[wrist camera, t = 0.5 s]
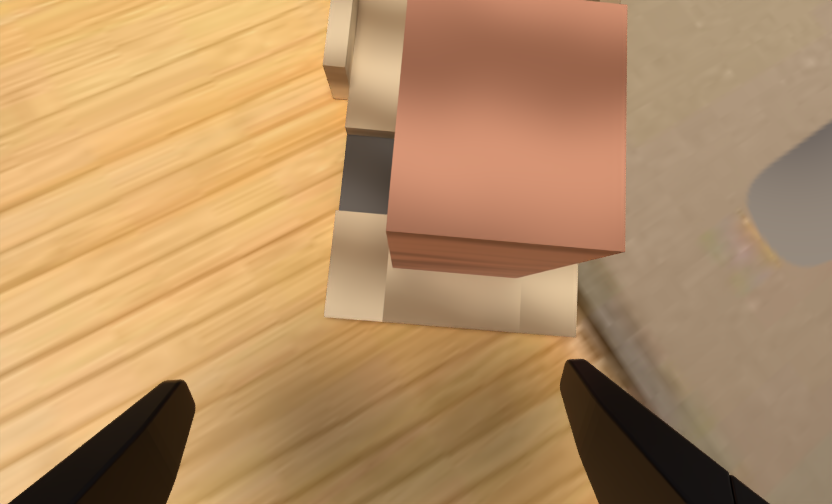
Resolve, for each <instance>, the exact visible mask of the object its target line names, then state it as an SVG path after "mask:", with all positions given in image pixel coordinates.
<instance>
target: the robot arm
mask: <svg viewBox="0 0 832 504" xmlns="http://www.w3.org/2000/svg"><path fill="white" fill-rule="evenodd" d="M560 391H561V395H562V398H563V402H564V405H565V409H566V412H567V415H568V419H569V422H570V426H571V429H572V433H573V436H574V439H575V443H576V446H577V449H578V452H579V455H580V458H581V461H582V463H583V466H584V468H585V471H586V473H587V476H588V478H589V480H590V483H591V485H592V488H593V490H594V493H595V495H596V498H597V500H598V502H599V504H769V503H768V502H767V501H765V500H764V499H763V498H761V497H760V496H759V495H757V494H756V493H755V492H754V491H752V490H751V489H750V488H748V487H747V486H746V485H745V484H743V483H742V482H741V481H739V480H738V479H737V478H736V477H734V476H733V475H729V473H728V471H726V470H725V469H724V468H723V467H721V466H720V465H719V464H718V463H716V462H715V461H714V460H712V459H711V458H710V457H709V456H707V455H706V454H705V453H704V452H702V451H701V450H700V449H698V448H697V447H696V446H695V445H693V444H692V443H691V442H690V441H688V440H687V439H686V438H684V437H683V436H682V435H681V434H679V433H678V432H677V431H676V430H674V429H673V428H672V427H670V426H669V425H668V424H667V423H665V422H664V421H663V420H661V419H660V418H659V417H658V416H656V415H655V414H654V413H653V412H651V411H650V410H649V409H647V408H646V407H645V406H644V405H642V404H641V403H640V402H639V401H637V400H636V399H635V398H633V397H632V396H631V395H630V394H628V393H627V392H626V391H625V390H623V389H622V388H621V387H619V386H618V385H617V384H616V383H614V382H613V381H612V380H610V379H609V378H608V377H607V376H605V375H604V374H603V373H602V372H600V371H599V370H598V369H596V368H595V367H594V366H593V365H591V364H590V363H589V362H588V361H586V360H584V359H570V360H567V361H566V363H565V366H564V370H563V374H562V378H561V382H560ZM194 414H195V402H194V400H193V397H192V395H191V393H190V390H189V388H188V386H187V384H186V382H185V381H184V380H167V381H164V382H162V383H160V384H159V385H158V386H157V387H155V388H154V389H153V390H152V391H150V392H149V393H148V394H146V395H145V396H144V397H143V398H141V399H140V400H139V401H138V402H136V403H135V404H134V405H133V406H131V407H130V408H129V409H127V410H126V411H125V412H124V413H122V414H121V415H120V416H119V417H117V418H116V419H115V420H113V421H112V422H111V423H110V424H108V425H107V426H106V427H105V428H103V429H102V430H101V431H100V432H98V433H97V434H96V435H94V436H93V437H92V438H91V439H89V440H88V441H87V442H86V443H84V444H83V445H82V446H81V447H79V448H78V449H77V450H75V451H74V452H73V453H72V454H70V455H69V456H68V457H67V458H65V459H64V460H63V461H62V462H60V463H59V464H58V465H56V466H55V467H54V468H53V469H51V470H50V471H49V472H48V473H46V474H45V475H44V476H43V477H41V478H40V479H39V480H37V481H36V482H35V483H34V484H32V485H31V486H30V487H29V488H27V489H26V490H25V491H23V492H22V493H21V494H20V495H18V496H17V497H16V498H15V499H13V500H12V501H11V502H10V503H8V504H166V503H167V500H168V498H169V495H170V493H171V490H172V487H173V485H174V482H175V479H176V476H177V473H178V470H179V466H180V463H181V459H182V456H183V452H184V449H185V445H186V442H187V438H188V435H189V431H190V428H191V424H192V421H193V417H194Z"/></svg>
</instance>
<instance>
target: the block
mask: <svg viewBox="0 0 832 504" xmlns="http://www.w3.org/2000/svg"><path fill="white" fill-rule="evenodd" d="M626 85H627V5H624V4H614V3H605V2H595V1H586V0H407V9H406V20H405V31H404V41H403V52H402V63H401V73H400V84H399V95H398V106H397V116H396V127H395V138H394V148H393V159H392V170H391V180H390V191H389V202H388V213H387V223H386V235H387V240H388V245H389V251H390V256H391V262H392V267H393V268H401V269H413V270H424V271H436V272H448V273H460V274H471V275H483V276H495V277H507V278H520V277H524V276H528V275H532V274H536V273H540V272H544V271H548V270H553V269H557V268H561V267H565V266H569V265H573V264H577V263H581V262H585V261H589V260H593V259H598V258H602V257H606V256H610V255H614V254H618V253H622V252H625V197H626Z"/></svg>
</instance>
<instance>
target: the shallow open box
mask: <svg viewBox="0 0 832 504" xmlns="http://www.w3.org/2000/svg"><path fill="white" fill-rule="evenodd" d="M586 1H595V2H605V3H614V4H620V0H586ZM406 9H407V0H331V3H330V11H329V19H328V27H327V35H326V44H325V52H324V60H323V67H324V70H325V73H326V77H327V80H328V83H329V86H330V89H331V92H332V95H333V98H335V99H346V100H348V106H347V115H346V123H345V128H346V132H347V142H346V151H345V160H344V169H343V178H342V187H341V196H340V205H339V210H336V213H335V222H334V231H333V240H332V249H331V257H330V266H329V275H328V284H327V293H326V302H325V311H324V317H330V318H342V319H354V320H367V321H379V322H391V323H404V324H416V325H428V326H441V327H453V328H466V329H478V330H490V331H503V332H515V333H527V334H540V335H552V336H564V337H576V321H577V281H578V263H577V264H573V265H569V266H565V267H561V268H557V269H553V270H548V271H544V272H540V273H536V274H532V275H528V276H524V277H520V278H507V277H495V276H483V275H471V274H460V273H448V272H436V271H424V270H413V269H401V268H393V267H392V262H391V256H390V251H389V245H388V240H387V235H386V223H387V213H388V202H389V191H390V180H391V170H392V159H393V148H394V138H395V127H396V116H397V106H398V95H399V84H400V73H401V63H402V52H403V41H404V31H405V20H406Z"/></svg>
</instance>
